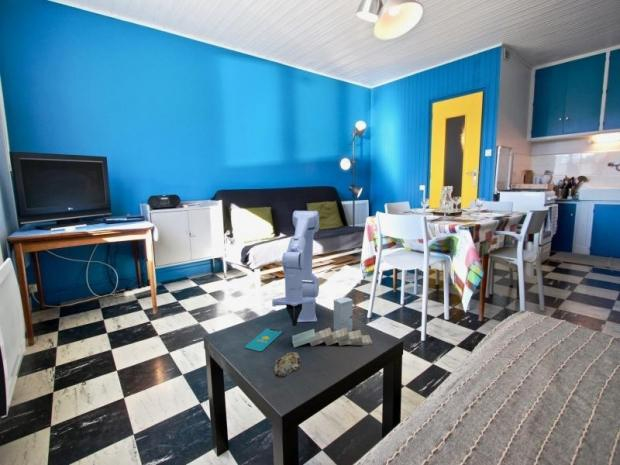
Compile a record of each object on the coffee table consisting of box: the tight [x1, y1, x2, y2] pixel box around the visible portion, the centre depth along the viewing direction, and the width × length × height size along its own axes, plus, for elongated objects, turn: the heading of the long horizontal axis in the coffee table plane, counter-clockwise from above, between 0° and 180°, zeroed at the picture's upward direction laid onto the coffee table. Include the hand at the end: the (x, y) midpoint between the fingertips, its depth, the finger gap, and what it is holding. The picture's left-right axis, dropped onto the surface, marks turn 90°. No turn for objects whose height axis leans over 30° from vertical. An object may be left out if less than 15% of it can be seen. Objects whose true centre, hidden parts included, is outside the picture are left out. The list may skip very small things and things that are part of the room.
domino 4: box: [337, 329, 363, 347], centre depth 106 cm, size 2×5×8 cm
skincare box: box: [333, 296, 354, 332], centre depth 114 cm, size 6×4×12 cm
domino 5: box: [348, 334, 373, 346], centre depth 107 cm, size 2×5×8 cm
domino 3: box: [324, 327, 349, 347], centre depth 106 cm, size 2×5×8 cm
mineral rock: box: [273, 351, 302, 378], centre depth 92 cm, size 11×4×8 cm
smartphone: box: [244, 328, 284, 353], centre depth 109 cm, size 7×1×15 cm
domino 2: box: [309, 327, 333, 347], centre depth 106 cm, size 2×5×8 cm
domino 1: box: [291, 328, 317, 348], centre depth 106 cm, size 2×5×8 cm
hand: (294, 324), depth 105 cm, fingers closed
